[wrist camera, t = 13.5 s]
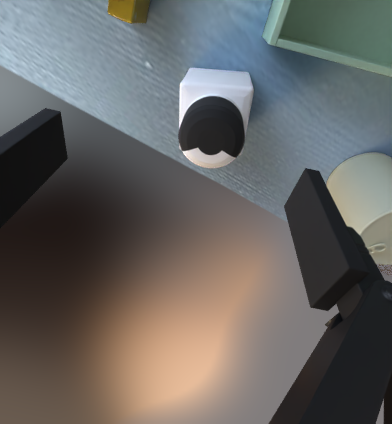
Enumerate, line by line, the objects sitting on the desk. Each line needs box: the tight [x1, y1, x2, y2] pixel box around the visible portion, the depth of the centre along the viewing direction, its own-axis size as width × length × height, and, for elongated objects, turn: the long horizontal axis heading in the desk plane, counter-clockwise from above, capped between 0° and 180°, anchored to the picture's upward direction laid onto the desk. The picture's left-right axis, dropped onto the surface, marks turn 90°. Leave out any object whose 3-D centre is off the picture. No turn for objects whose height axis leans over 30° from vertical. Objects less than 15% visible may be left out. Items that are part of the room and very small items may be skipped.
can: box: [326, 153, 392, 265], centre depth 32 cm, size 9×9×12 cm
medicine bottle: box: [178, 68, 254, 168], centre depth 27 cm, size 7×7×12 cm
